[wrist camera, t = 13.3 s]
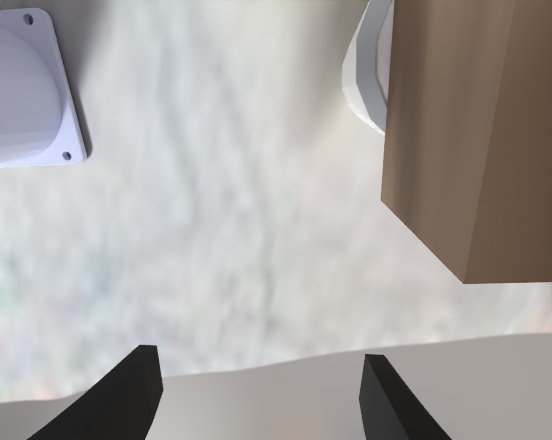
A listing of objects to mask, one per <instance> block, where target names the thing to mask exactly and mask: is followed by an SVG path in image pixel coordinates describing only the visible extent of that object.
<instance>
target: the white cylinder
mask: <svg viewBox="0 0 552 440" xmlns="http://www.w3.org/2000/svg"><path fill="white" fill-rule="evenodd" d="M393 14H394V0H369V3H368V5H367V7H366V9H365V11H364V14H363V16H362V18H361V20H360V22H359V25H358V27H357V29H356V31H355V34H354V36H353V38H352V40H351V42H350V45H349V47H348V50H347V53H346V56H345V59H344V61H343V64H342V90H343V93H344V95H345V98H346V100H347V103H348V105H349V107H350V108H351V109H352V110H353V111H354V112H355V113H356V114H357V115H358V116H359V117H360V118H361V119H362V120H363V121H364V122H366V123H367V124H369V125H370V126H371V127H373V128H374V129H376V130H377V131H378V132H380V133H381V134H383V135H384V136H385V130H386V116H387V101H388V87H389V72H390V58H391V43H392V29H393Z"/></svg>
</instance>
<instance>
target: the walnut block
mask: <svg viewBox="0 0 552 440" xmlns="http://www.w3.org/2000/svg"><path fill="white" fill-rule="evenodd" d="M381 201H382V202H383V203H384V204H385V205H386V206H387V207H388V208H389V209H390V210H391V211H392V212H393V213H394V214H395V215H396V216H397V217H398V218H399V219H400V220H401V221H402V222H403V223H404V224H405V225H406V226H407V227H408V228H409V229H410V230H411V231H412V232H413V233H414V234H415V235H416V236H417V237H418V238H419V239H420V240H421V241H422V242H423V243H424V244H425V245H426V246H427V247H428V248H429V249H430V251H431V252H432V253H433V254H434V255H435V256H436V257H437V258H438V259H439V260H440V261H441V262H442V263H443V264H444V265H445V266H446V267H447V268H448V269H449V270H450V271H451V272H452V273H453V274H454V275H455V276H456V277H457V278H458V279H459V280H460V281H461V282H462V283H463V284H484V283H529V282H552V0H394V14H393V29H392V43H391V58H390V72H389V87H388V101H387V116H386V130H385V145H384V159H383V174H382V188H381Z"/></svg>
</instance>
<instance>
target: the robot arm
mask: <svg viewBox="0 0 552 440" xmlns="http://www.w3.org/2000/svg"><path fill="white" fill-rule="evenodd" d="M30 16H32V18H33V23H32V25H31V24H30V22H29V18H30ZM67 152H69V153H70V155H71V159H70V158H68V156H67ZM86 159H87V154H86V150H85V146H84V142H83V138H82V135H81V131H80V127H79V123H78V119H77V115H76V112H75V108H74V104H73V100H72V96H71V93H70V89H69V85H68V81H67V77H66V73H65V70H64V66H63V62H62V58H61V54H60V50H59V47H58V43H57V39H56V35H55V31H54V27H53V24H52V20H51V17H50V15H49V14H48V13H47V12H46V11H44V10H42V9H40V8H22V9H9V10H0V167H22V166H44V165H65V164H79V163H83V162H85V161H86ZM162 392H163V383H162V377H161V370H160V364H159V357H158V351H157V346H155V345H139V346H138V347H137V348H135V349H134V350H133V351H132V352H131V353H130V354H129V355H127V356H126V357H125V358H124V359H123V360H122V361H121V362H120V363H119V364H117V365H116V366H115V367H114V368H113V369H112V370H111V371H110V372H109V373H107V374H106V375H105V376H104V377H103V378H102V379H101V380H100V381H98V382H97V383H96V384H95V385H94V386H93V387H91V388H90V389H89V390H88V391H87V392H86V393H85V394H84V395H82V396H81V397H80V398H79V399H78V400H76V401H75V402H74V403H73V404H71V406H69V407H68V408H67V409H65V410H64V411H63V412H62V413H60V414H59V415H58V416H57V417H56V418H54V419H53V420H52V421H51V422H49V423H48V424H47V425H46V426H44V427H43V428H42V429H40V430H39V431H38V432H36V433H35V434H34V435H32V436H31V437H30V438H28V439H27V440H145V438H146V436H147V434H148V431H149V429H150V427H151V425H152V422H153V420H154V416H155V414H156V411H157V408H158V405H159V402H160V399H161V395H162ZM359 402H360V408H361V414H362V421H363V426H364V432H365V436H366V440H452V439H451V438H450V437H449V436H448V435H447V434H446V432H445V431H444V430H443V429H442V428H441V427H440V426H439V424H438V423H437V422H436V421H435V420H434V419H433V417H432V416H431V415H430V414H429V413H428V411H427V410H426V409H425V408H424V406H423V405H422V404H421V403H420V401H419V400H418V399H417V398H416V396H415V395H414V394H413V393H412V391H411V390H410V389H409V387H408V386H407V385H406V384H405V382H404V381H403V380H402V378H401V377H400V376H399V374H398V373H397V372H396V371H395V369H394V368H393V366H392V365H391V364H390V362H389V361H388V360H387V358H386V357H385V356H384V355H374V354H365V360H364V367H363V375H362V381H361V388H360V395H359Z"/></svg>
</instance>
